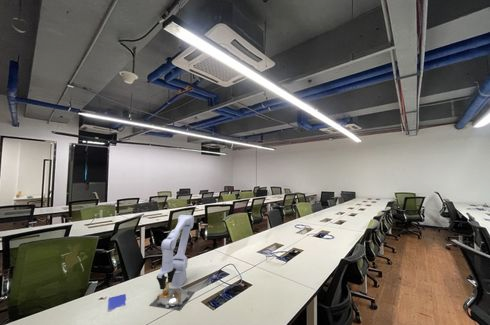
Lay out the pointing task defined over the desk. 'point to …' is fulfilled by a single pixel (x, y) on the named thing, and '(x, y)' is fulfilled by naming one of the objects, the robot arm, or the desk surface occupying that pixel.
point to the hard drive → (116, 302)
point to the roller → (166, 289)
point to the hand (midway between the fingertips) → (166, 285)
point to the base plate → (172, 306)
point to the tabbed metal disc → (173, 297)
